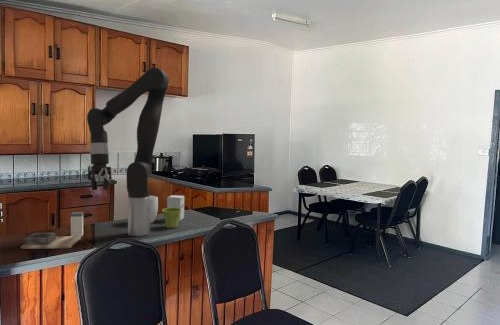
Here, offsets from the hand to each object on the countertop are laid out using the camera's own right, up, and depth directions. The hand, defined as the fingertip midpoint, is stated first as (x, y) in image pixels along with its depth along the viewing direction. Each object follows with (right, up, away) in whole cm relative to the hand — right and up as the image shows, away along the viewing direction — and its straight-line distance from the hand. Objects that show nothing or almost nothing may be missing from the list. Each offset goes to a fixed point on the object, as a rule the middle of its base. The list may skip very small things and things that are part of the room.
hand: (100, 189), depth 168 cm
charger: (-10, -20, -1) cm, 22 cm away
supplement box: (+27, -19, +35) cm, 48 cm away
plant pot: (+28, -20, +19) cm, 39 cm away
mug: (+13, -19, +26) cm, 35 cm away
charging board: (-14, -21, -14) cm, 29 cm away
